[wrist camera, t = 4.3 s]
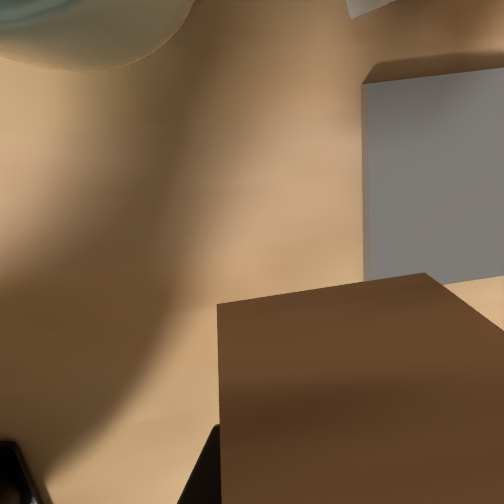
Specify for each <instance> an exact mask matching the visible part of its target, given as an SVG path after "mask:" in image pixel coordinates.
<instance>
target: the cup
mask: <svg viewBox="0 0 504 504" xmlns="http://www.w3.org/2000/svg"><path fill="white" fill-rule="evenodd" d="M194 1H195V0H0V57H4V58H7V59H11V60H14V61H18V62H21V63H25V64H29V65H33V66H37V67H41V68H46V69H52V70H61V71H74V72H97V71H105V70H113V69H118V68H121V67H124V66H127V65H130V64H133V63H136V62H138V61H140V60H142V59H144V58H145V57H147V56H149V55H151V54H152V53H154V52H156V51H157V50H158V49H159V48H161V47H162V46H163V45H164V44H165V43H166V42H168V41H169V40H170V39H171V38H172V37H173V36H174V34H175V33H176V32H177V31H178V29H179V28H180V27H181V25H182V24H183V23H184V21H185V20H186V18H187V16H188V14H189V11H190V9H191V7H192V5H193V3H194Z"/></svg>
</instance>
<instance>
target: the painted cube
mask: <svg viewBox="0 0 504 504" xmlns="http://www.w3.org/2000/svg"><path fill="white" fill-rule="evenodd" d="M394 1H396V0H346V4H347V8H348V12H349V16H350V20H351V19H354V18H356V17H358V16H361V15H363V14H366V13H368V12H370V11H373V10H375V9H377V8H380V7H382V6H384V5H387V4H389V3H391V2H394Z"/></svg>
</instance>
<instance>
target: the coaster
mask: <svg viewBox="0 0 504 504" xmlns="http://www.w3.org/2000/svg"><path fill="white" fill-rule="evenodd" d="M361 94H362V175H363V256H364V282H365V281H371V280H378V279H384V278H391V277H397V276H404V275H410V274H417V273H423V272H425V273H426V274H428V275H429V276H430V277H432V278H433V279H434V280H436V281H437V282H438V283H440V284H441V285H444V284H451V283H457V282H464V281H470V280H477V279H483V278H490V277H496V276H503V275H504V67H503V68H494V69H486V70H478V71H469V72H461V73H452V74H444V75H435V76H427V77H418V78H410V79H401V80H393V81H384V82H376V83H368V84H363V85H361Z"/></svg>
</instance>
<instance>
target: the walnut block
mask: <svg viewBox="0 0 504 504" xmlns="http://www.w3.org/2000/svg"><path fill="white" fill-rule="evenodd" d="M217 332H218V372H219V413H220V453H221V493H222V504H504V331H503V330H502V329H500V328H499V327H498V326H496V325H495V324H494V323H492V322H491V321H490V320H488V319H487V318H486V317H484V316H483V315H482V314H480V313H479V312H477V311H476V310H475V309H473V308H472V307H471V306H469V305H468V304H467V303H465V302H464V301H463V300H461V299H460V298H459V297H457V296H456V295H455V294H453V293H452V292H451V291H449V290H448V289H447V288H445V287H444V286H443V285H441V284H440V283H438V282H437V281H436V280H434V279H433V278H432V277H430V276H429V275H428V274H426V273H425V272H423V273H417V274H410V275H404V276H397V277H391V278H384V279H378V280H371V281H365V282H358V283H352V284H345V285H339V286H332V287H326V288H319V289H313V290H306V291H300V292H293V293H287V294H280V295H274V296H267V297H261V298H254V299H248V300H241V301H235V302H228V303H222V304H217Z"/></svg>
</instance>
